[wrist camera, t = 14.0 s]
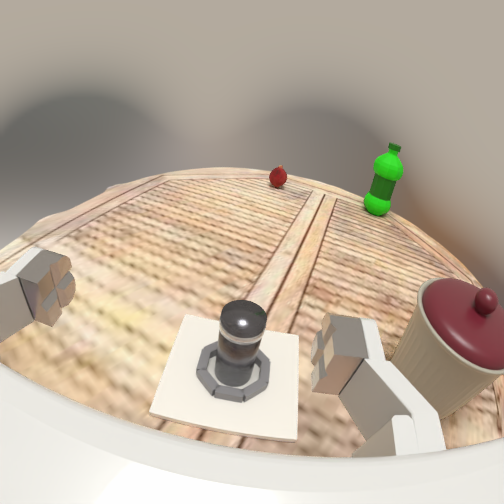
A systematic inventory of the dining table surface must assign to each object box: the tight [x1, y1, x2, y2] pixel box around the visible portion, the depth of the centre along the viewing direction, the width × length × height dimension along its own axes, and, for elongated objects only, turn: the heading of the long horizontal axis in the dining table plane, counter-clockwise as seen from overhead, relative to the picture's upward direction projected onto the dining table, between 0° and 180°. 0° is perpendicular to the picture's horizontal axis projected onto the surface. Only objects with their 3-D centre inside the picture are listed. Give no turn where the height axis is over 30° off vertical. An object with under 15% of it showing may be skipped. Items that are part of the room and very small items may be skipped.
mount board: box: [149, 314, 299, 442], centre depth 39 cm, size 18×18×2 cm
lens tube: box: [215, 300, 267, 387], centre depth 36 cm, size 5×5×11 cm
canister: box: [390, 278, 504, 420], centre depth 34 cm, size 18×18×21 cm
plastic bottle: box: [364, 143, 403, 216], centre depth 94 cm, size 10×10×25 cm
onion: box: [269, 165, 287, 188], centre depth 101 cm, size 6×6×8 cm
